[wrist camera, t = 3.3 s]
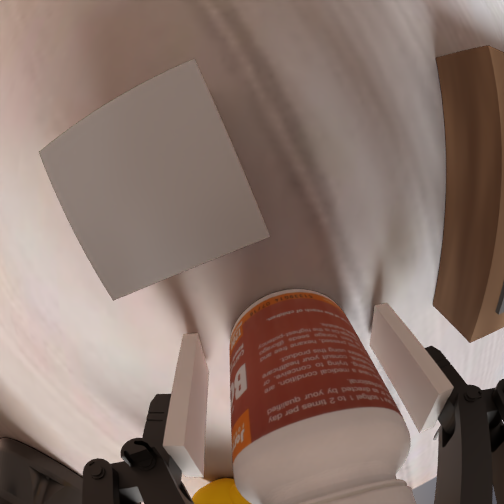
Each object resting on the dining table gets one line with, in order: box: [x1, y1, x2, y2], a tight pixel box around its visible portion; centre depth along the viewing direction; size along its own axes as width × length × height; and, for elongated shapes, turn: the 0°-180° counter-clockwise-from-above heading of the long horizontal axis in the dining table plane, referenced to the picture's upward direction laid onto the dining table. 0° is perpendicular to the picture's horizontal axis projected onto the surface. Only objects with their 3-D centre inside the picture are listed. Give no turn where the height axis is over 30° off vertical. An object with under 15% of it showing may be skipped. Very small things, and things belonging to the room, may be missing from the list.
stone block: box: [39, 59, 270, 300], centre depth 9 cm, size 5×5×5 cm
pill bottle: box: [230, 289, 416, 504], centre depth 10 cm, size 6×6×11 cm
